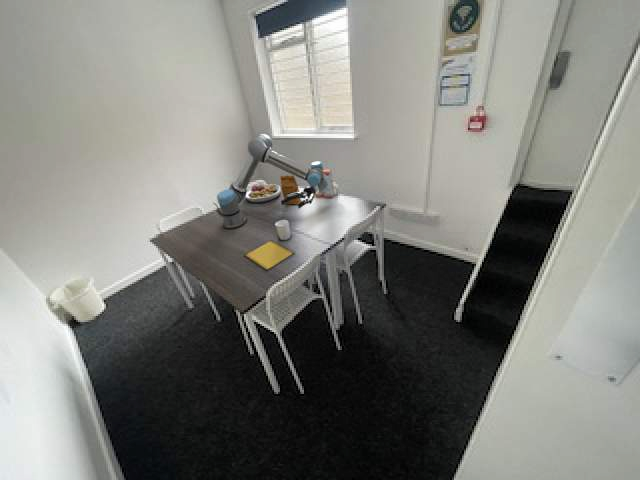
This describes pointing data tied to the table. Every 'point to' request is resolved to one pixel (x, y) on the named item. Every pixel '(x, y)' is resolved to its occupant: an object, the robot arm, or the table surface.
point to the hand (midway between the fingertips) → (289, 204)
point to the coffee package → (289, 188)
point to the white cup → (283, 229)
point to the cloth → (269, 255)
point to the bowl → (263, 193)
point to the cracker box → (329, 190)
